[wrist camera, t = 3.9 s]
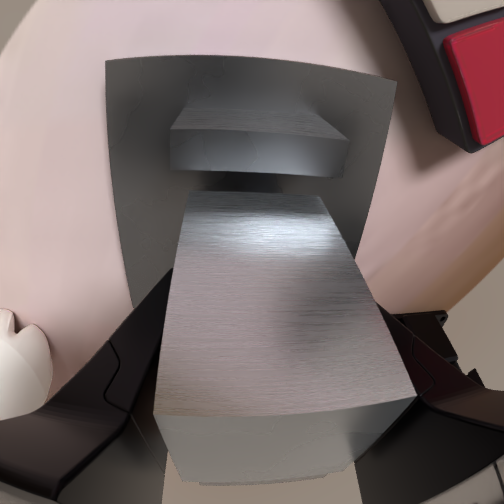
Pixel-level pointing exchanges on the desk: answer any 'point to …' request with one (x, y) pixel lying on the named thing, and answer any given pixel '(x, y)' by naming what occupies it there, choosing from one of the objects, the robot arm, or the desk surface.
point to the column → (271, 345)
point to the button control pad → (457, 64)
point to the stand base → (236, 143)
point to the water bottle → (22, 368)
